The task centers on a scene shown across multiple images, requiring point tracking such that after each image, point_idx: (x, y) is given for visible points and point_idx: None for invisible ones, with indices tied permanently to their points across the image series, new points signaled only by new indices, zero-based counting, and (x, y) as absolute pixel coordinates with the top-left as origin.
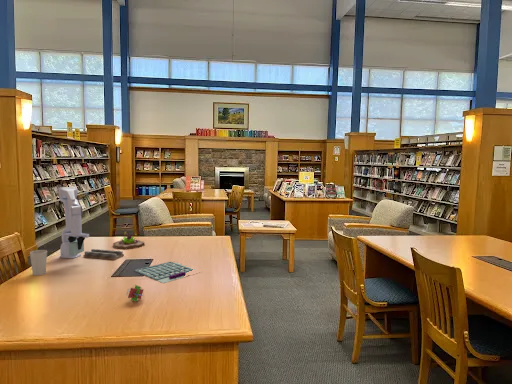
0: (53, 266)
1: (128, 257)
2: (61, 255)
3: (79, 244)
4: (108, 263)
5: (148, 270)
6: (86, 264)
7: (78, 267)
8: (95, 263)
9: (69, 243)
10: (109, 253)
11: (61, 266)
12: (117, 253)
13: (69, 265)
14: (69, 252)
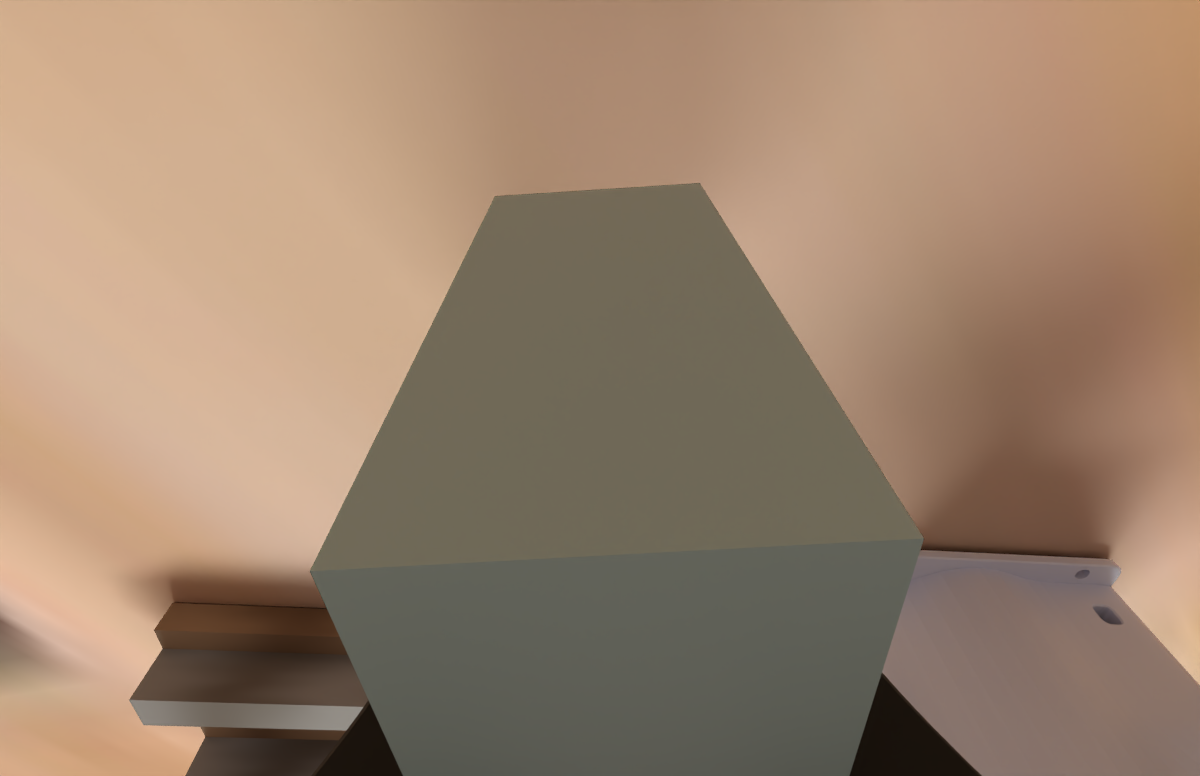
0: (1054, 28)
1: (108, 709)
2: (1105, 596)
3: (363, 718)
4: (70, 452)
5: None
6: (402, 325)
7: (392, 81)
8: (291, 410)
9: (835, 535)
10: (274, 719)
11: (851, 72)
12: (261, 759)
13: (705, 190)
14: (702, 218)
